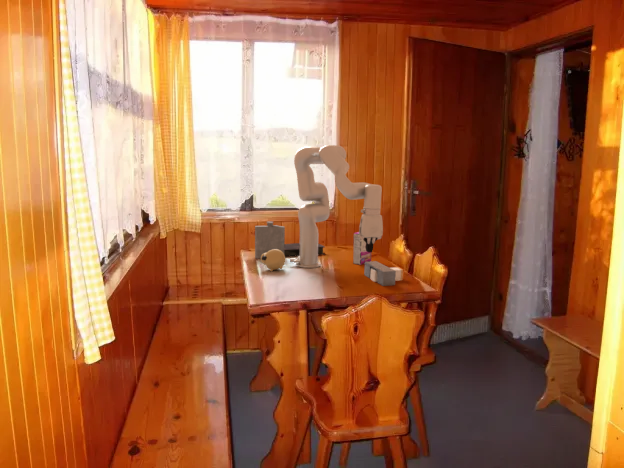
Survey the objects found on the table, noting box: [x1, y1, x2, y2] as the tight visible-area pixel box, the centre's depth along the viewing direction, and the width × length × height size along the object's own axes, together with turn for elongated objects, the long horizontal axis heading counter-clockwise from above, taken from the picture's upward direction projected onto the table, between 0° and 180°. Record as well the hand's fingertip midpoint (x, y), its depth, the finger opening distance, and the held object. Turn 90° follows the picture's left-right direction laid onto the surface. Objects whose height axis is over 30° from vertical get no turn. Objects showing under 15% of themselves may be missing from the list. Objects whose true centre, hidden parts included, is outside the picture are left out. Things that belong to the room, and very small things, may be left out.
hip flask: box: [254, 221, 286, 260], centre depth 275 cm, size 16×4×20 cm, turn 91°
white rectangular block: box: [369, 266, 404, 283], centre depth 236 cm, size 14×5×5 cm, turn 106°
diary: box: [284, 242, 326, 258], centre depth 292 cm, size 19×25×5 cm
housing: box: [363, 260, 396, 287], centre depth 235 cm, size 6×20×6 cm, turn 19°
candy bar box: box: [352, 231, 372, 266], centre depth 269 cm, size 11×5×16 cm, turn 143°
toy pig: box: [260, 249, 286, 272], centre depth 249 cm, size 10×12×11 cm
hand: (369, 251), depth 232 cm, fingers closed
